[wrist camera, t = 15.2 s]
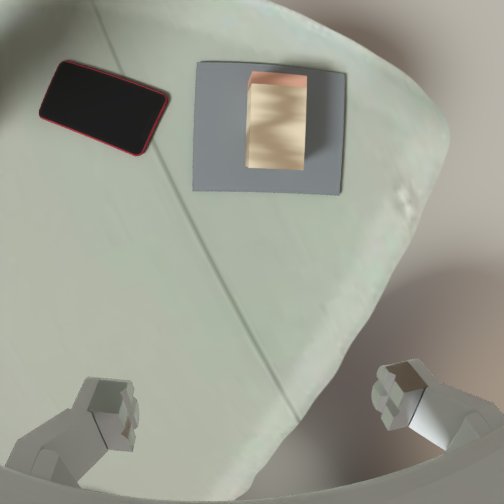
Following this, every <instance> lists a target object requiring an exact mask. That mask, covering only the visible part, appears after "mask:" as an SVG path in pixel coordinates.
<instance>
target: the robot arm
mask: <svg viewBox="0 0 504 504" xmlns="http://www.w3.org/2000/svg"><path fill="white" fill-rule="evenodd" d="M376 376H377V377H378V379H379V380H378V381H377V382H376V383H375V384H374V385H373V389H372V402H373V405H374V407H375V409H376V410H378V411H380V412H381V413H382V416H381V419H382V421H383V422H384V424H385V426H386V428H387V429H388V431H390V430H394V429H398V428H402V427H406V426H409V427H410V428H411V429H413V430H414V431H416V432H417V433H419V434H420V435H422V436H424V437H425V438H427V439H428V440H430V441H431V442H433V443H435V444H436V445H438V446H439V447H441V448H442V449H444V450H445V453H444V454H443V455H441V456H439V457H436V458H434V459H431V460H428V461H426V462H423V463H420V464H418V465H415V466H412V467H409V468H406V469H403V470H400V471H397V472H394V473H391V474H387V475H384V476H381V477H377V478H374V479H370V480H367V481H362V482H359V483H354V484H351V485H346V486H342V487H337V488H332V489H327V490H323V491H317V492H311V493H305V494H299V495H291V496H284V497H275V498H266V499H254V500H239V501H171V500H156V499H145V498H136V497H127V496H120V495H113V494H107V493H101V492H95V491H90V490H85V489H81V487H80V486H79V485H78V483H77V481H78V480H79V479H80V478H81V477H82V476H83V475H84V474H85V473H86V472H87V471H88V470H89V469H90V468H91V467H92V466H93V465H94V464H95V463H96V462H97V461H98V460H99V459H100V458H101V457H102V456H103V455H104V454H105V453H106V452H107V451H108V450H117V451H129V452H133V448H134V443H135V438H136V436H135V433H134V429H136V428H137V427H138V423H139V406H138V402H137V399H136V398H134V397H133V393H134V387H133V384H132V382H131V381H130V380H118V379H108V378H96V377H87V378H86V379H85V380H84V382H83V385H82V387H81V389H80V391H79V393H78V395H77V398H76V400H75V402H74V404H73V407H72V409H68V408H67V409H66V410H64V411H63V412H61V413H60V414H58V415H57V416H55V417H53V418H52V419H50V420H49V421H47V422H45V423H44V424H42V425H41V426H39V427H38V428H36V429H34V430H33V431H31V432H30V433H28V434H26V435H25V436H23V437H22V438H20V439H18V440H17V442H16V444H15V446H14V448H13V450H12V452H11V454H10V456H9V458H8V460H7V463H6V465H5V467H4V466H1V465H0V504H504V414H503V413H502V412H501V411H500V410H499V408H498V407H497V406H496V405H495V404H494V403H492V402H490V401H487V400H484V399H482V398H480V397H477V396H475V395H472V394H469V393H467V392H464V391H462V390H460V389H457V388H454V387H452V386H450V385H447V384H445V383H442V384H440V383H439V382H438V380H437V379H436V378H435V377H434V376H433V375H432V373H431V372H430V371H429V370H428V369H427V368H426V366H425V365H424V364H423V363H422V362H421V361H420V360H419V359H413V360H408V361H405V362H400V363H394V364H389V365H384V366H380V368H379V369H378V371H377V375H376Z"/></svg>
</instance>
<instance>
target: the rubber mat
mask: <svg viewBox="0 0 504 504" xmlns="http://www.w3.org/2000/svg"><path fill="white" fill-rule="evenodd" d="M252 71H256V72H272V73H284V74H294V75H303V76H307V99H306V129H305V152H304V170H289V169H266V168H248V167H247V166H245V150H246V121H247V94H248V81H249V78H250V76H251V73H252ZM344 95H345V74H342V73H336V72H330V71H323V70H316V69H308V68H300V67H291V66H280V65H268V64H252V63H226V62H197V69H196V87H195V109H194V138H193V191H231V192H273V193H299V194H320V195H337V196H339V194H340V181H341V166H342V150H343V128H344Z"/></svg>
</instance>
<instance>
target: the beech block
mask: <svg viewBox="0 0 504 504" xmlns="http://www.w3.org/2000/svg"><path fill="white" fill-rule="evenodd" d="M306 99H307V76H303V75H294V74H284V73H272V72H256V71H252V73H251V76H250V78H249V81H248V94H247V121H246V150H245V166H247V167H248V168H266V169H289V170H304V152H305V129H306Z"/></svg>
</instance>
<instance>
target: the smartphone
mask: <svg viewBox="0 0 504 504" xmlns="http://www.w3.org/2000/svg"><path fill="white" fill-rule="evenodd" d="M167 101H168V99H167V96H166V95H165V94H164V93H162V92H159V91H156V90H154V89H151V88H148V87H146V86H143V85H140V84H138V83H135V82H132V81H129V80H126V79H124V78H121V77H118V76H115V75H112V74H109V73H106V72H103V71H100V70H96V69H93V68H90V67H87V66H84V65H80V64H77V63H73V62H70V61H62V62H61V63H60V64H59V66H58V67H57V70H56V72H55V74H54V76H53V78H52V80H51V83H50V85H49V87H48V90H47V92H46V94H45V97H44V99H43V102H42V104H41V107H40V109H39V116H40V118H42V119H44V120H47V121H50V122H52V123H55V124H57V125H60V126H62V127H65V128H67V129H70V130H73V131H75V132H78V133H80V134H83V135H85V136H88V137H90V138H92V139H95V140H97V141H100V142H102V143H105V144H107V145H110V146H112V147H114V148H117V149H119V150H122V151H124V152H126V153H129V154H131V155H133V156H140V155H142V154H143V153H144V151H145V149H146V147H147V145H148V142H149V140H150V138H151V136H152V134H153V131H154V129H155V127H156V125H157V123H158V121H159V119H160V117H161V115H162V112H163V110H164V108H165V106H166V104H167Z"/></svg>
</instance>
